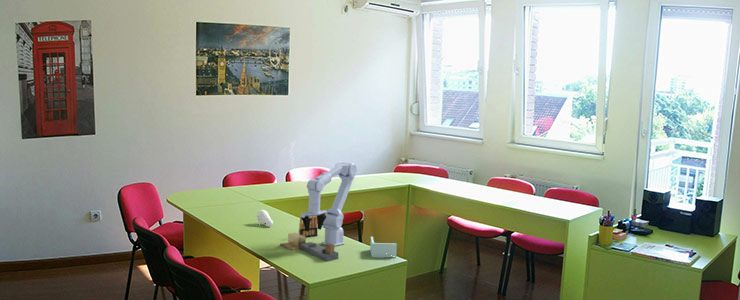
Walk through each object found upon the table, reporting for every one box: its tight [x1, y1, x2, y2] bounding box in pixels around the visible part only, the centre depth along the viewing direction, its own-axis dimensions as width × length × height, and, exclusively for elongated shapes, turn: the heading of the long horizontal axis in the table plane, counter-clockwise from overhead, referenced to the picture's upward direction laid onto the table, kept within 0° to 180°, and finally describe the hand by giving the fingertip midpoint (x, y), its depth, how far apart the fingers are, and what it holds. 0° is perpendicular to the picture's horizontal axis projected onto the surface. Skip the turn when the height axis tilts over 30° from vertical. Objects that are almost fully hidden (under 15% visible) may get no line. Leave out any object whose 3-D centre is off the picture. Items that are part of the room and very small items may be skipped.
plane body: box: [299, 241, 339, 262], centre depth 277 cm, size 7×22×7 cm, turn 42°
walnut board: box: [279, 241, 300, 251], centre depth 290 cm, size 12×11×1 cm
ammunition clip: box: [298, 216, 318, 239], centre depth 306 cm, size 11×2×12 cm, turn 122°
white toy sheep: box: [256, 209, 274, 228], centre depth 327 cm, size 6×8×12 cm
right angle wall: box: [369, 236, 398, 259], centre depth 282 cm, size 12×12×8 cm
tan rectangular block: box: [287, 232, 307, 248], centre depth 289 cm, size 4×9×5 cm, turn 43°
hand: (313, 230), depth 282 cm, fingers open, 7 cm apart
